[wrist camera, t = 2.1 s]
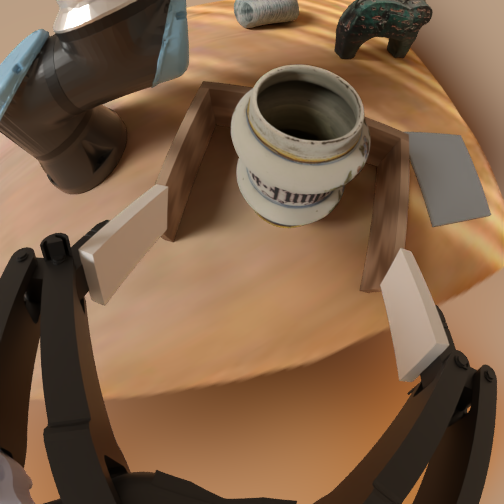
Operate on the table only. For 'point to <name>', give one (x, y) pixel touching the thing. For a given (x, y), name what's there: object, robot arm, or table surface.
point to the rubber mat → (447, 178)
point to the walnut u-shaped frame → (381, 155)
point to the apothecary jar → (298, 143)
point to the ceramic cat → (381, 25)
